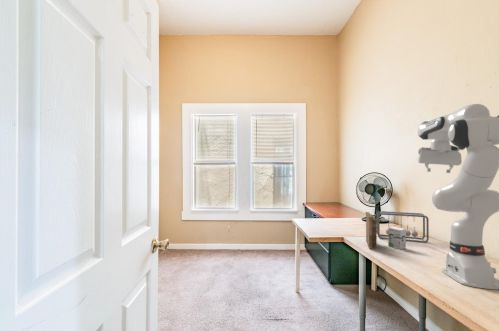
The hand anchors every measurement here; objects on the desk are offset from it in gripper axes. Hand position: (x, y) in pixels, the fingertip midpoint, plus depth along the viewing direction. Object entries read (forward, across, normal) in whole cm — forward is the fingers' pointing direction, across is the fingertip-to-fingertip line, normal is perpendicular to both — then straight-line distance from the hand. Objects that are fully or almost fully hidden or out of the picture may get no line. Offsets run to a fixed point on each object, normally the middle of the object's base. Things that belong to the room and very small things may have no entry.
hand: (438, 172), depth 151 cm
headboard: (+48, -31, +9) cm, 58 cm away
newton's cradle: (+45, -10, +33) cm, 57 cm away
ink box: (+47, -17, +9) cm, 51 cm away
